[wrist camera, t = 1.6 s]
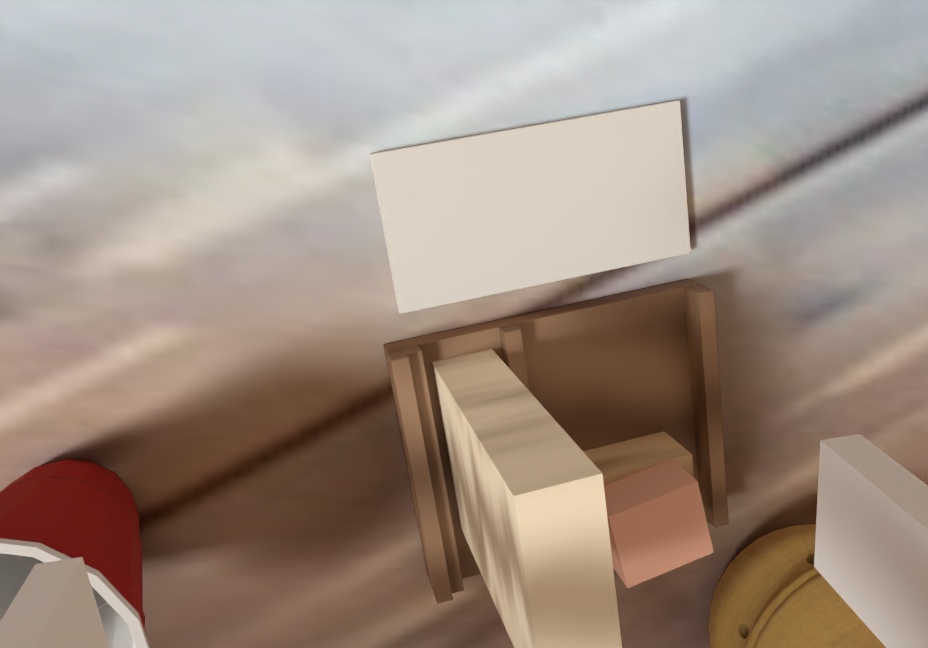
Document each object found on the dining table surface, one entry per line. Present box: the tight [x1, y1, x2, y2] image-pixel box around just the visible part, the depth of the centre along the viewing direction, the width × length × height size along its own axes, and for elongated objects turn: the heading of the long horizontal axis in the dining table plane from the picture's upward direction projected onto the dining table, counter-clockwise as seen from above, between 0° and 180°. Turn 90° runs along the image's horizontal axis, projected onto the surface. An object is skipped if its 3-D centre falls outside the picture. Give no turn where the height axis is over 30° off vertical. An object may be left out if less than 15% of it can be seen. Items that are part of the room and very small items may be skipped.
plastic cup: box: [0, 459, 150, 648], centre depth 32 cm, size 11×11×12 cm
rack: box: [384, 279, 728, 604], centre depth 41 cm, size 13×16×3 cm
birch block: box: [432, 349, 622, 648], centre depth 34 cm, size 9×3×14 cm, turn 9°
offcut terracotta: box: [604, 459, 714, 588], centre depth 39 cm, size 4×4×2 cm
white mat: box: [370, 101, 691, 314], centre depth 39 cm, size 8×15×1 cm, turn 99°
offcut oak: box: [583, 431, 694, 486], centre depth 41 cm, size 4×6×3 cm
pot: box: [708, 524, 886, 648], centre depth 44 cm, size 12×12×10 cm
